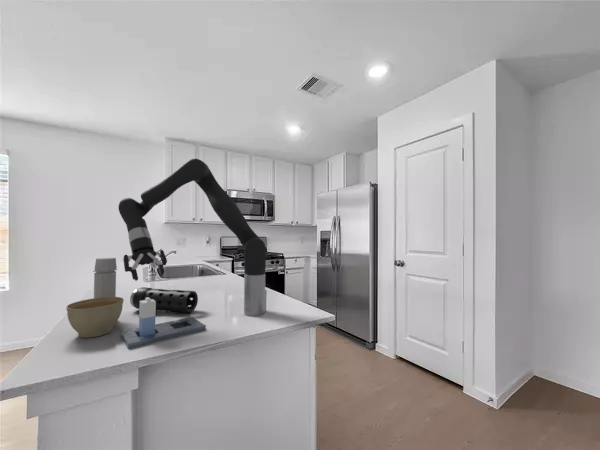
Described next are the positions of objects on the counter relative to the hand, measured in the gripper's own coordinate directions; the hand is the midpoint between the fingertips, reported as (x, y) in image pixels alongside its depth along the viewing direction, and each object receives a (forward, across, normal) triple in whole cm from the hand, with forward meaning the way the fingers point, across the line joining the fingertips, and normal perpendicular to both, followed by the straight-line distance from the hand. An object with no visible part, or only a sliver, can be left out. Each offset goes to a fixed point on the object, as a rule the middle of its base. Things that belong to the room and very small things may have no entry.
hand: (149, 277), depth 102 cm
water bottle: (+4, -14, +25) cm, 29 cm away
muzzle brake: (+8, +8, +24) cm, 26 cm away
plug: (+21, -5, 0) cm, 22 cm away
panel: (+22, 0, 0) cm, 22 cm away
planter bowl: (+11, -18, +14) cm, 25 cm away
